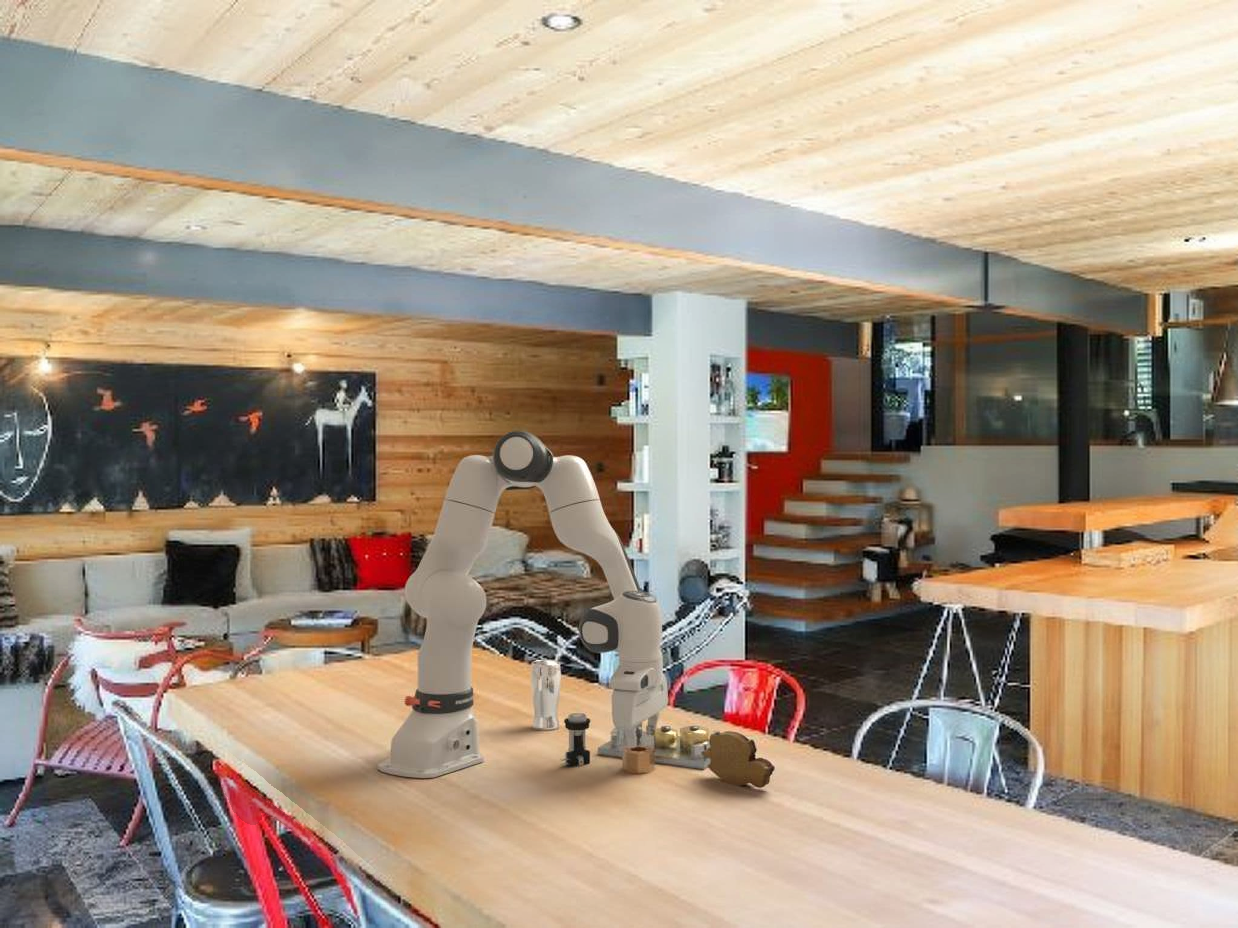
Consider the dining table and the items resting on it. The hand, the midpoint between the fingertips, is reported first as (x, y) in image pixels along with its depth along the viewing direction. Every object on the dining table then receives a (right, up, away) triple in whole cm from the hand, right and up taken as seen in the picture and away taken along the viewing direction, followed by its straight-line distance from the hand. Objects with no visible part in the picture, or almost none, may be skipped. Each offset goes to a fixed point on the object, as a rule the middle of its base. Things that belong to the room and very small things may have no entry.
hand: (642, 740), depth 222 cm
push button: (-14, -6, +2) cm, 15 cm away
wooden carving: (+18, -6, -10) cm, 22 cm away
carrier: (+5, -5, +11) cm, 13 cm away
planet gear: (-1, -5, -1) cm, 6 cm away
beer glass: (-22, -5, +31) cm, 38 cm away
